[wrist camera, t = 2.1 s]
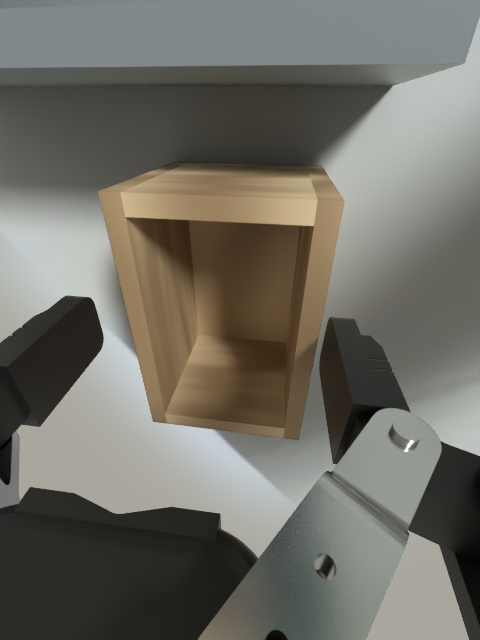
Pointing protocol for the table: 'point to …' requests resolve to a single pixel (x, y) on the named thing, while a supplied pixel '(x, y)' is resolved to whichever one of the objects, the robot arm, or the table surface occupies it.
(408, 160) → the table surface
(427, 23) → the grey square tray
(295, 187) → the small oak crate
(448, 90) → the table surface
